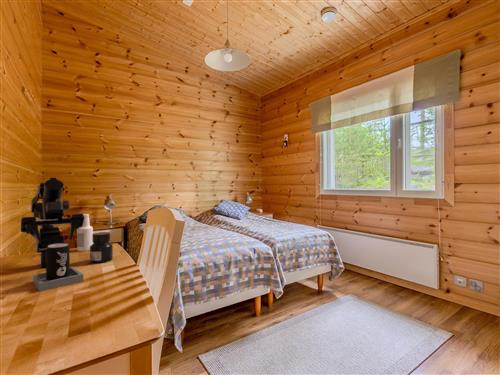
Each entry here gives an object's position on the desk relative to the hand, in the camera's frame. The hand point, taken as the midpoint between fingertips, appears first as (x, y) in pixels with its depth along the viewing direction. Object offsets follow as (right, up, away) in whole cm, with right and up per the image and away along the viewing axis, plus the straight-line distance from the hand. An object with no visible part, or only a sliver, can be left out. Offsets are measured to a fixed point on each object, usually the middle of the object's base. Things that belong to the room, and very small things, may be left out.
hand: (56, 240), depth 94 cm
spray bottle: (-15, -13, +40) cm, 44 cm away
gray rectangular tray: (+3, -13, -3) cm, 14 cm away
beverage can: (+3, -13, -3) cm, 14 cm away
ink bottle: (+4, -13, +22) cm, 26 cm away
